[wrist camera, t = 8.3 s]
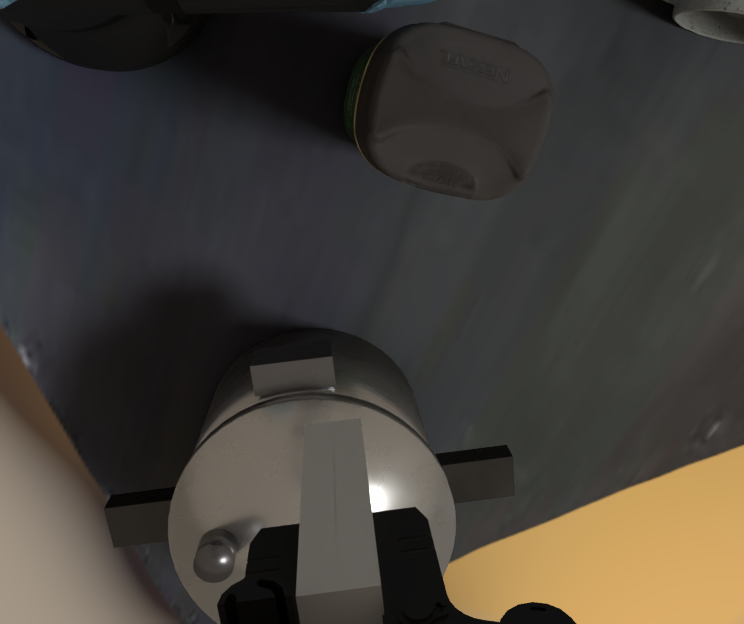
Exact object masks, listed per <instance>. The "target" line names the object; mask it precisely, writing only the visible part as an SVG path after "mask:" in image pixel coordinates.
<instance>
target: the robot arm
mask: <svg viewBox="0 0 744 624" xmlns="http://www.w3.org/2000/svg"><path fill="white" fill-rule="evenodd" d="M433 1H436V0H0V18H1V19H5V20H8V21H9V22H10V23H11V24H12V25H13V26H14V27H15V28H16V29H17V30H18V31H19V32H20V33H21V34H22V35H23V36H25V37H26V38H27V39H28V40H30V41H31V42H32V43H34V44H35V45H36V46H38V47H39V48H41V49H43V50H44V51H46V52H48V53H49V54H51V55H53V56H55V57H57V58H59V59H61V60H64V61H66V62H69V63H71V64H74V65H78V66H81V67H85V68H90V69H97V70H104V71H133V70H139V69H144V68H148V67H151V66H154V65H156V64H159V63H161V62H163V61H165V60H167V59H169V58H171V57H173V56H174V55H176V54H177V53H179V52H180V51H181V50H183V49H184V48H185V47H186V46H187V45H188V44H190V43H191V42H192V40H193V39H194V38H195V37H196V36H197V35H198V34H199V32H200V31H201V30H202V28H203V27H204V26H205V24H206V22H207V21H208V19H209V17H210V15H211V13H290V12H357V13H373V12H376V11H379V10H381V9H383V8H392V7H402V6H412V5H422V4H427V3H430V2H433ZM217 609H218V613H219V618H220V623H221V624H576V623H575V622H574V621H573V619H572V618H571V617H569V616H568V615H567V614H566V613H565V612H563V611H562V610H561V609H559V608H556V607H554V606H551V605H549V604H543V603H535V602H531V603H525V604H519V605H517V606H515V607H513V608H511V609H510V610H508V611H507V612H506V613H505V615H504V616H503V617H502V618H501V621H500V622H494V621H486V620H481V619H476V618H473V617H470V616H468V615H465V614H463V613H462V612H461V611H459V610H457V609H456V608H455V607H454V606H453V604H452V603H451V602H450V601H449V598H448V596H447V593H446V590H445V585H444V581H443V577H442V573H441V569H440V565H439V561H438V557H437V554H436V550H435V546H434V542H433V538H432V534H431V530H430V526H429V522H428V519H427V518H426V517H425V516H424V515H423V514H422V513H421V512H420V511H419V510H418V509H417V508H416V507H410V508H402V509H394V510H387V511H379V512H372V506H371V498H370V490H369V482H368V474H367V465H366V457H365V449H364V441H363V433H362V424H361V418H356V419H348V420H340V421H332V422H324V423H316V424H308V425H305V426H304V445H303V464H302V484H301V503H300V522H299V524H291V525H283V526H276V527H268V528H261V529H260V531H259V532H258V533H257V535H256V536H255V537H254V539H253V540H252V541H251V543H250V545H249V552H248V558H247V564H246V570H245V577H244V579H242V580H240V581H238V582H237V583H235V584H233V585H231V586H230V587H229V588H228V589H227V590H226V591H225V592H224V593H223V594H222V595H221V597H220V599H219V601H218V603H217Z"/></svg>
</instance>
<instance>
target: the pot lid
mask: <svg viewBox="0 0 744 624" xmlns="http://www.w3.org/2000/svg"><path fill="white" fill-rule="evenodd" d="M356 418H361V424H362V433H363V441H364V449H365V457H366V465H367V474H368V482H369V490H370V498H371V506H372V512H379V511H387V510H394V509H402V508H410V507H416V508H417V509H418V510H419V511H420V512H421V513H422V514H423V515H424V516H425V517H426V518H427V519H428V522H429V526H430V530H431V534H432V538H433V542H434V546H435V550H436V554H437V557H438V561H439V565H440V569H441V573H442V577H443V575H444V573H445V570H446V568H447V566H448V564H449V561H450V557H451V554H452V550H453V547H454V540H455V533H456V514H455V508H454V501H453V497H452V494H451V490H450V487H449V484H448V481H447V478H446V475H445V473H444V470H443V468H442V466H441V464H440V462H439V460H438V458H437V457H436V455H435V454H434V452H433V451H432V449H431V448H430V446H429V445H428V444H427V442H426V441H425V440H424V439H423V438H422V437H421V436H420V435H419V434H418V433H417V431H415V430H414V429H413V428H412V427H411V426H409V425H408V424H407V423H406V422H405V421H403V420H402V419H400V418H399V417H397V416H396V415H394V414H392V413H391V412H389V411H388V410H386V409H383V408H381V407H379V406H377V405H375V404H373V403H370V402H367V401H364V400H361V399H358V398H354V397H350V396H345V395H339V394H334V393H317V392H312V393H296V394H290V395H285V396H280V397H275V398H272V399H269V400H266V401H262V402H259V403H257V404H254V405H252V406H250V407H248V408H246V409H244V410H241V411H240V412H238V413H236V414H235V415H233V416H232V417H230V418H228V419H227V420H225V421H224V422H223V423H221V424H220V425H219V426H218V427H217V428H215V429H214V430H213V431H212V432H211V433H210V434H209V435H208V436H207V437H206V438H205V439H204V440H203V441H202V442H201V443H200V444H199V445H198V447H197V448H196V450H195V451H194V453H193V454H192V455H191V457H190V458H189V460H188V462H187V464H186V466H185V468H184V470H183V472H182V474H181V476H180V478H179V480H178V483H177V485H176V488H175V491H174V494H173V498H172V501H171V505H170V511H169V517H168V540H169V547H170V553H171V557H172V560H173V563H174V567H175V569H176V572H177V574H178V576H179V578H180V580H181V582H182V584H183V586H184V587H185V589H186V590H187V592H188V593H189V595H190V596H191V598H192V599H193V600H194V601H195V602H196V604H197V605H198V606H199V607H200V608H201V609H202V610H203V611H204V612H205V613H206V614H207V615H208V616H209V617H210V618H212V619H213V620H214V621H215V622H216V623H218V624H221V623H220V618H219V613H218V609H217V603H218V601H219V599H220V597H221V595H222V594H223V593H224V592H225V591H226V590H227V589H228V588H229V587H230V586H231V585H233V584H235V583H237V582H238V581H240V580H242V579H244V577H245V570H246V564H247V558H248V552H249V545H250V543H251V541H252V540H253V539H254V537H255V536H256V535H257V533H258V532H259V531H260V529H261V528H268V527H276V526H283V525H291V524H299V522H300V503H301V484H302V464H303V445H304V426H305V425H308V424H316V423H324V422H332V421H340V420H348V419H356Z"/></svg>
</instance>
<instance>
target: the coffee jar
mask: <svg viewBox="0 0 744 624" xmlns="http://www.w3.org/2000/svg"><path fill="white" fill-rule="evenodd" d="M553 103H554V93H553V86H552V82H551V79H550V76H549V74H548V72H547V70H546V69H545V67H544V66H543V64H542V63H541V62H540V61H539V60H538V59H537V58H536V57H535V56H533V55H532V54H531V53H529V52H528V51H526V50H524V49H522V48H520V47H519V46H518V45H517V44H516V43H515V42H513V41H509V40H505V39H502V38H498V37H495V36H492V35H488V34H485V33H482V32H478V31H474V30H471V29H468V28H465V27H462V26H459V25H455V24H452V23H449V22H442V23H439V24H438V23H419V24H411V25H407V26H404V27H401V28H399V29H397V30H394V31H393V32H391V33H389V34H388V35H387V36H385V37H384V38H383V39H382V40H381V41H380V42H379V44H377V45H374V46H372V47H370V48H369V49H367V50H366V51H365V52H364V53H363V54H362V55H361V56H360V57H359V59H358V60H357V62H356V64H355V66H354V68H353V71H352V73H351V76H350V80H349V83H348V87H347V91H346V96H345V101H344V110H343V119H344V125H345V128H346V131H347V133H348V135H349V137H350V138H351V139H352V141H353V142H354V143H355V144H356V145H357V146H358V148H359V150H360V152H361V154H362V155H363V157H364V158H365V159H366V160H367V162H368V163H369V164H371V165H372V166H373V167H374V168H376V169H377V170H379V171H380V172H382V173H384V174H386V175H388V176H390V177H392V178H394V179H396V180H399V181H402V182H405V183H408V184H411V185H414V186H416V187H418V188H421V189H425V190H428V191H433V192H436V193H441V194H446V195H451V196H457V197H462V198H468V199H473V200H491V199H496V198H500V197H503V196H505V195H507V194H509V193H511V192H512V191H514V190H515V189H516V188H518V187H519V186H520V185H521V184H522V183H523V182H524V181H525V180H526V179H527V177H528V176H529V175H530V173H531V171H532V169H533V167H534V165H535V163H536V160H537V158H538V156H539V153H540V151H541V148H542V145H543V143H544V140H545V137H546V133H547V130H548V127H549V123H550V119H551V115H552V110H553Z"/></svg>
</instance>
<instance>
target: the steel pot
mask: <svg viewBox="0 0 744 624" xmlns="http://www.w3.org/2000/svg"><path fill="white" fill-rule="evenodd" d="M312 392H317V393H334V394H339V395H345V396H350V397H354V398H358V399H361V400H364V401H367V402H370V403H373V404H375V405H377V406H379V407H381V408H383V409H386V410H388V411H389V412H391V413H392V414H394V415H396V416H397V417H399V418H400V419H402V420H403V421H405V422H406V423H407V424H408V425H409V426H411V427H412V428H413V429H414V430H415V431H417V433H418V434H419V435H420V436H421V437H422V438H423V439H424V440H425V441H426V442H427V444H428V445H429V442H428V438H427V435H426V432H425V429H424V425H423V422H422V419H421V416H420V413H419V409H418V406H417V403H416V400H415V397H414V393H413V390H412V388H411V386H410V384H409V382H408V380H407V378H406V377H405V375H404V374H403V372H402V371H401V369H400V368H399V367H398V366H397V365H396V364H395V362H394V361H393V360H392V359H391V358H390V357H389V356H387V355H386V354H385V353H384V352H383V351H382V350H380V349H379V348H377V347H376V346H374V345H372V344H371V343H369V342H367V341H365V340H363V339H361V338H359V337H357V336H353V335H350V334H347V333H344V332H340V331H334V330H328V329H301V330H296V331H290V332H286V333H282V334H279V335H276V336H273V337H271V338H269V339H267V340H264V341H262V342H260V343H259V344H257V345H255V346H254V347H252V348H251V349H249V350H248V351H247V352H245V353H244V354H243V355H242V356H241V357H239V358H238V359H237V360H236V361H235V362H234V364H233V365H232V366H231V367H230V368H229V369H228V371H227V372H226V373H225V375H224V376H223V378H222V379H221V381H220V383H219V385H218V387H217V389H216V391H215V394H214V397H213V400H212V402H211V405H210V408H209V411H208V414H207V416H206V419H205V422H204V425H203V427H202V430H201V433H200V436H199V438H198V441H197V444H196V447H195V450H196V448H197V447H198V445H199V444H200V443H201V442H202V441H203V440H204V439H205V438H206V437H207V436H208V435H209V434H210V433H211V432H212V431H213V430H214V429H215V428H217V427H218V426H219V425H220V424H221V423H223V422H224V421H225V420H227V419H228V418H230V417H232V416H233V415H235V414H236V413H238V412H240V411H241V410H244V409H246V408H248V407H250V406H252V405H254V404H257V403H259V402H262V401H266V400H269V399H272V398H275V397H280V396H285V395H290V394H296V393H312ZM429 446H430V445H429ZM195 450H194V451H195ZM193 453H194V452H193ZM435 455H436V457H437V458H438V460H439V462H440V464H441V466H442V468H443V470H444V473H445V475H446V478H447V481H448V484H449V487H450V490H451V494H452V497H453V501H454V503H461V502H469V501H477V500H485V499H492V498H500V497H508V496H515V495H514V473H513V456H512V454H511V452H510V450H509V449H508V447H507V445H502V446H494V447H486V448H479V449H471V450H463V451H455V452H447V453H439V454H435ZM175 488H176V487H172V488H164V489H156V490H148V491H140V492H133V493H125V494H117V495H111V497H110V499H109V500H108V502H107V504H106V506H105V508H104V510H105V514H106V518H107V522H108V526H109V530H110V534H111V537H112V542H113V545H114V547H123V546H130V545H138V544H146V543H154V542H161V541H169V540H168V517H169V511H170V505H171V501H172V498H173V494H174V491H175Z"/></svg>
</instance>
